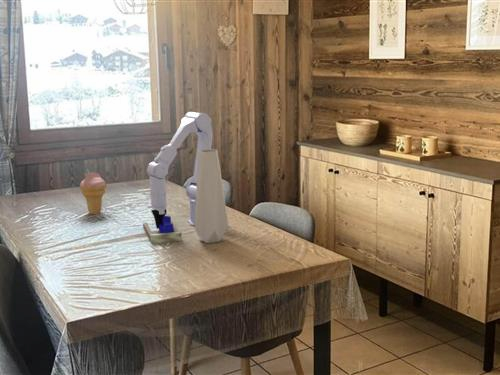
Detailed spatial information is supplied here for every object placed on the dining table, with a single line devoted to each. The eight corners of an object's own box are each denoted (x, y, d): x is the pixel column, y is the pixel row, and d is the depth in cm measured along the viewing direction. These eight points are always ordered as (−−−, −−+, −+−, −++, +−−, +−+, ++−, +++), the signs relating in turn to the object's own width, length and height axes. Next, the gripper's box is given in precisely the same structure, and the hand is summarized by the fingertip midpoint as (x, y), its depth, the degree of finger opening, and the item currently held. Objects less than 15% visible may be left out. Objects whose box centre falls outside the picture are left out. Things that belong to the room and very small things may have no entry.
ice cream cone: (76, 214, 258) (73, 168, 254) (92, 208, 268) (89, 164, 264) (98, 217, 254) (94, 170, 250) (113, 210, 264) (110, 165, 260)
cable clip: (159, 231, 232) (158, 216, 231) (170, 230, 233) (170, 215, 232) (161, 241, 221) (160, 225, 219) (173, 240, 222) (173, 224, 220)
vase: (232, 236, 225) (231, 148, 218) (221, 245, 214) (219, 153, 207) (202, 233, 229) (199, 147, 222) (189, 242, 218) (186, 152, 211)
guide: (171, 225, 241) (170, 217, 240) (181, 240, 221) (181, 232, 220) (143, 227, 238) (142, 220, 237) (151, 243, 218) (150, 235, 217)
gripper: (144, 190, 236) (146, 224, 239) (150, 198, 222) (152, 234, 225) (163, 188, 238) (164, 222, 241) (169, 197, 224) (170, 232, 227)
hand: (159, 228), depth 233 cm, fingers closed
